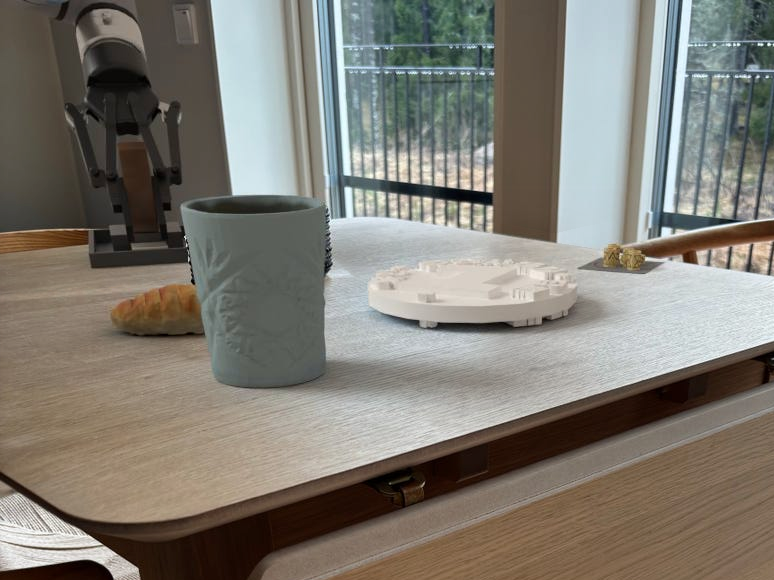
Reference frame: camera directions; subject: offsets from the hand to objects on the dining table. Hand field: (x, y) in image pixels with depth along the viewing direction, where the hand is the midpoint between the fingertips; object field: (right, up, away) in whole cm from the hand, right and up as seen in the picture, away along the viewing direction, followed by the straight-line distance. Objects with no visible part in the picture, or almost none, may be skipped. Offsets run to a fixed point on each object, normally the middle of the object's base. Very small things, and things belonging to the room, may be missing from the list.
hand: (147, 232), depth 112 cm
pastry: (+11, -19, -24) cm, 33 cm away
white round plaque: (+37, -15, -18) cm, 44 cm away
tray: (-2, 0, +7) cm, 8 cm away
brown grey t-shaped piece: (-2, 0, +6) cm, 6 cm away
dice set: (+55, -3, +1) cm, 55 cm away
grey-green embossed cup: (+22, -26, -37) cm, 50 cm away
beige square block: (0, -2, +2) cm, 3 cm away
